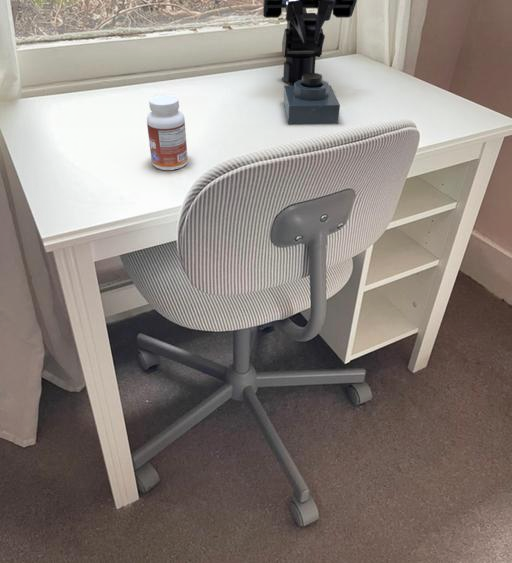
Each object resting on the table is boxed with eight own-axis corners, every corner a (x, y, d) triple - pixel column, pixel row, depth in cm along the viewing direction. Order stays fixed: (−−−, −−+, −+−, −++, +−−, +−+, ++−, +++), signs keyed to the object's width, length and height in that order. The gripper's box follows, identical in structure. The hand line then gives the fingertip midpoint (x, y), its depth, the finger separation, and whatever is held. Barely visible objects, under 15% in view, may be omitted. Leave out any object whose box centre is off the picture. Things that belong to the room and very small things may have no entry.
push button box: (283, 103, 116) (284, 75, 113) (329, 103, 117) (331, 74, 113) (288, 124, 107) (289, 94, 103) (338, 123, 107) (341, 93, 104)
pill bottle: (151, 156, 94) (144, 93, 88) (186, 154, 95) (181, 91, 88) (152, 172, 90) (144, 107, 83) (189, 169, 90) (184, 104, 84)
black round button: (300, 83, 110) (301, 72, 109) (320, 83, 110) (320, 72, 109) (302, 89, 107) (303, 79, 106) (322, 89, 107) (323, 78, 106)
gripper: (264, -59, 103) (266, 17, 101) (361, -58, 103) (365, 17, 101) (262, -19, 114) (264, 50, 112) (349, -19, 114) (352, 50, 112)
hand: (310, 41), depth 109 cm, fingers closed
